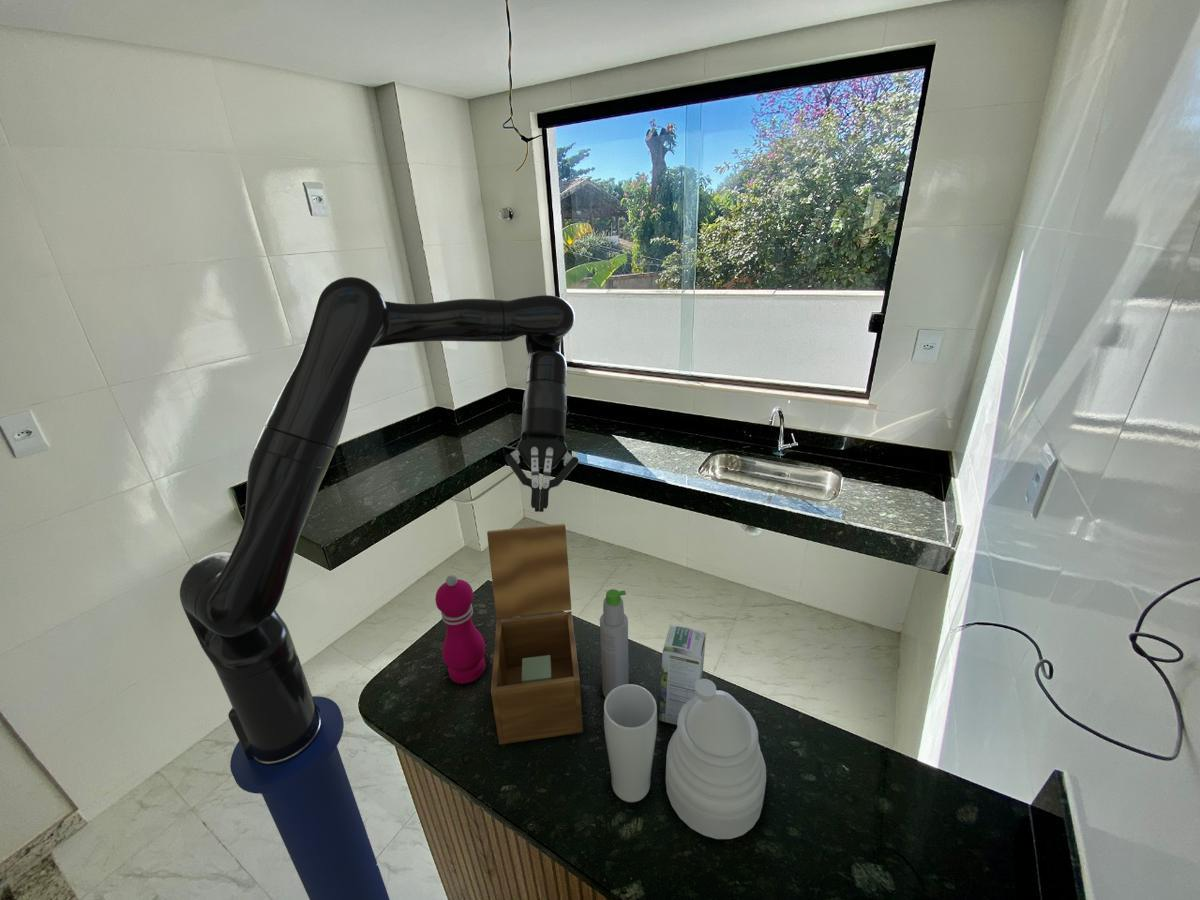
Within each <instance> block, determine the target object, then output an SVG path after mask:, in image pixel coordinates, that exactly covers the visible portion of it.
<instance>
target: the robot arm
mask: <svg viewBox="0 0 1200 900" xmlns="http://www.w3.org/2000/svg"><path fill="white" fill-rule="evenodd" d="M575 315H576V314H575V311H574V308H573V307H572V305H571V304H570V303H569V302H568V301H566V299H563V297H562V298H561V297H558V296H555V295H551V294H549V295H548V294H543V295H534V296H526V297H520V298H514V299H508V300H507V299H493V298H458V299H450V300H442V301H435V302H427V303H403V302H402V303H400V302H394V301H393V302H392V301H386V300H385V299H384V297H383V295H382V293H381V292H380V291H379V289H378V288H377V287H376V286H375V285H373V284H372V283H371V282H369V281H368V280H366V279H364V278H361V277H356V276H346V277H341V278H337V279H336V280H334V281H331V282H330V283H329V284H328V285H326V286H325V287H324V289H322V291H321V292H320V294H319V296H318V298H317V302H316V305H315V309H314V312H313V316H312V320H311V324H310V327H309V330H308V334H307V336H306V339H305V342H304V347H303V348H302V351H301V354H300V356H299V359H298V360H297V363H296V364H295V367H294V369H293V370H292V372H291V373H290V376H289V377H288V379H287V381H286V383H285V384H284V386H283V388H282V390H281V392H280V394H279V395H278V397H277V400H276V401H275V404H274V405H273V408H272V409H271V412H270V413H269V415H268V417H267V419H266V421H265V423H264V426H263V427H262V430H261V433H260V435H259V436H258V439H257V441H256V443H255V446H254V448H253V451H252V453H251V457H250V460H249V465H248V470H247V479H246V480H247V482H246V500H245V513H244V519H243V524H242V527H241V531H240V533H239V536H238V539H237V541H236V542H235V545H234V547H233V549H232V550H231V551H230V550H229V551H227V550H226V551H218V552H215V553H214V552H213V553H212V554H209V555H206V556H204V557H202V558H200V559H199V560H198V561H196V562H195V563H194V564H193V565H192V566H191V567H190V568H189V569H188V570H187V571H186V573H185V575H184V576H183V578H182V580H181V583H180V586H179V599H180V603H181V607H182V609H183V612H184V614H185V616H186V618H187V620H188V622H189V624H190V626H191V628H192V631H193V633H194V635H195V637H196V638H197V641H198V642H199V645H200V647H201V649H202V651H203V652H204V654H205V656H206V657H207V658H208V660H209V661H210V663H211V664H212V666H213V668H214V669H215V671H216V674H217V676H218V678H219V680H220V683H221V685H222V687H223V690H224V692H225V694H226V696H227V698H228V701H229V703H230V705H231V709H230V710H229V712H228V714H227V715H228V719H229V722H230V723H231V726H232V728H233V731H234V733H235V735H236V737H237V739H238V742H239V741H240V743H241V746H242V748H243V750H244V752H245V755H246V757H247V759H248V760H250V759H255V761H256V762H257V763H259V764H261V765H266V766H272V765H278V764H282V763H285V762H287V761H289V760H291V759H293V758H295V757H297V756H298V755H300V754H301V753H302V752H304V751H305V750H306V749H307V748H308V747H309V746H310V745H311V744H312V743H313V742H314V741H315V739H316V738H317V736H318V734H319V732H320V729H321V723H322V722H321V718H320V715H319V714H318V712H317V710H318V711H319V712H320V709H319V708H318V707H317V705H316V704H315V703H314V700H313V697H312V696H313V695H312V692H311V689H310V686H309V684H308V681H307V678H306V675H305V671H304V669H303V667H302V663H301V660H300V658H299V655H298V652H297V649H296V646H295V644H294V641H293V638H292V635H291V632H290V630H289V627H288V625H287V624H286V622H285V621H284V620H283V619H282V617H281V616H280V615H279V614H278V612H277V610H276V609H277V607H278V605H279V604H280V602H281V598H282V596H283V593H284V590H285V586H286V584H287V580H288V578H289V573H290V569H291V566H292V563H293V560H294V556H295V552H296V549H297V546H298V543H299V539H300V536H301V534H302V531H303V528H304V526H305V524H306V521H307V520H308V516H309V514H310V511H311V509H312V506H313V504H314V502H315V499H316V497H317V494H318V491H319V488H320V486H321V484H322V481H323V479H324V478H325V476H326V473H327V471H328V468H329V466H330V463H331V461H332V459H333V456H334V454H335V452H336V449H337V447H338V444H339V441H340V438H341V435H342V432H343V429H344V426H345V422H346V418H347V414H348V410H349V405H350V401H351V396H352V392H353V388H354V385H355V382H356V379H357V376H358V374H359V372H360V371H361V369H362V366H363V364H364V362H365V360H366V358H367V357H368V354H369V352H370V350H371V349H372V348H379V347H384V346H391V345H400V344H408V343H409V344H410V343H425V342H469V343H471V342H472V343H473V342H475V343H477V342H479V343H480V342H481V343H507V342H508V343H509V342H513V341H514V340H517V339H518V338H520V337H524V342H525V343H524V344H525V353H526V357H527V365H526V375H525V377H526V378H525V389H524V393H523V399H522V405H521V406H522V407H521V408H522V414H521V430H520V431H521V433H520V439H519V442H518V444H517V446H516V449H514V450H513V451H512V452H510V453H506V454H505V455H504V460H505V461H506V463H507V464H508V466H509V467H510V469H511V470H512V471H513V473H514V474H515V476H516V477H517V478H518V480H519V481H520V483H521V484H522V485H523V486H525V487H529V488H530V489H531V496H530V497H531V498H530V507H531V508H532V509H534V512H537V513H544V512H545V511H544V510H545V509H548V508H549V507H548V506H549V494H550V490H551V489H552V488H556V487H560V485H561V483H563V481H564V480H565V479H566V478H567V476H568V475H569V474H570V473H571V472H572V471H573V470H574V469H575V468H576V466H577V465H578V463H579V458H578V456H573V455H572V454H571V453H570V452H569V451H568V446H567V443H566V426H567V410H568V406H567V404H568V403H567V402H568V400H567V399H568V398H567V397H568V396H567V372H568V365H567V360H566V358H565V356H564V355H563V354H562V353H561V345H562V344H561V343H562V339H563V338H564V337H565V336H566V335H567V334H568V333H570V331H571V330H572V328H573V326H574V323H575V317H576V316H575ZM520 457H521V458H522V459H523V461H524V463H525V464H526V465H527V467H528V468H530V469H531V470H530V471H531V473H530V475H531V476H530V477H531V478H530V477H528V476H527V475H526V473H525V472H524V471H523V470H522V468H521V466H520V465H519V464H520V463H521V459H520ZM563 458H564V460H563ZM562 460H563V468H562V469H561V470H560V471H559V473H557V475H556V476H555V477H554V478H552V479H551V475H552V470H553V469H555V468H556V467H558V465H559V463H561V461H562ZM540 470H543V473H542V481H541V489H540ZM316 708H317V709H316ZM320 714H321V712H320Z"/></svg>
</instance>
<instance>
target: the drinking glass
mask: <svg viewBox="0 0 1200 900" xmlns="http://www.w3.org/2000/svg"><path fill="white" fill-rule="evenodd" d="M603 731H604V732H603V733H604V738H605V745H606V751H607V757H608V762H609V763H608V764H609V769H610V781H611V787H612V790H613V792H614V794H615V795H616V796H617V797H618V798H619V799H620V800H622V801H624V802H627V803H636V802H639V801H641V800H643V799H644V798H645V797H646V796H647V795H648V793H649V791H650V789H651V781H652V777H651V776H652V769H653V762H654V755H655V749H656V743H657V742H656V741H657V734H658V733H657V732H658V705H657V702H656V699H655V697H654V695H653V694H652V693H651V692H650V691H649V690H648V689H646V688H644V687H643V686H641V685H637V684H634V683H629V684H626V685H621V686H618V687H616V688H614V689H613V690H612V691H611V692H610V693H609V694H608V695H607V697H606V698H605V699H604V702H603Z"/></svg>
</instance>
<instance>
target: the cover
mask: <svg viewBox="0 0 1200 900" xmlns="http://www.w3.org/2000/svg"><path fill="white" fill-rule="evenodd" d="M566 530H567V529H566V523H556V524H554V523H553V524H546V525H545V524H544V525H534V526H525V527H515V528H514V527H513V528H504V529H494V530H487V532H486V535H487V545H488V553H489V562H490V563H489V564H490V570H491V571H490V572H491V581H492V590H493V591H492V592H493V600H494V608H495V617H496V618H495V619H497V620H500V619H508V618H517V617H525V616H534V615H542V614H551V613H559V612H568V611H572V598H571V597H572V596H571V585H570V569H569V555H568V544H567V543H568V542H567V531H566Z"/></svg>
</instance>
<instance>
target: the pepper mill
mask: <svg viewBox="0 0 1200 900" xmlns="http://www.w3.org/2000/svg"><path fill="white" fill-rule="evenodd" d="M474 595H475V594H474V591H473V587H472V586H471V584H470V583H469V582H468V581H466V580H465V579H460V578H459V579H458V577H457V576H456V575H454V574H450V575H448V576H447V577H446V579H445V582H443V583H442V584H441V585H440V586H439V587H438V588H437V591H436V593H435V600H434V601H435V605H436V608H437V609H438V610H439V611H440V614H441V620H442V621H443V623H445V624H446V635H445V638H444V641H443V644H442V650H441V655H442V661H443V663H444V664H445V665H446V666H447V670H448V675H449V678H450V679H451V680H452V682H454V683H456V684H462V685H463V684H468V683H472V682H474V681H476V680H477V679H479V678H480V677H481V676H482V675H483V673H484V671H485V669H486V661H485V660H486V659H485V654H486V642H485V639H484V637H483V635H482V633H480V631H479V630H478V629H477V628H476V626H475V625H474V623H473V620H472V616H473V615H474V609H473V602H474Z"/></svg>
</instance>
